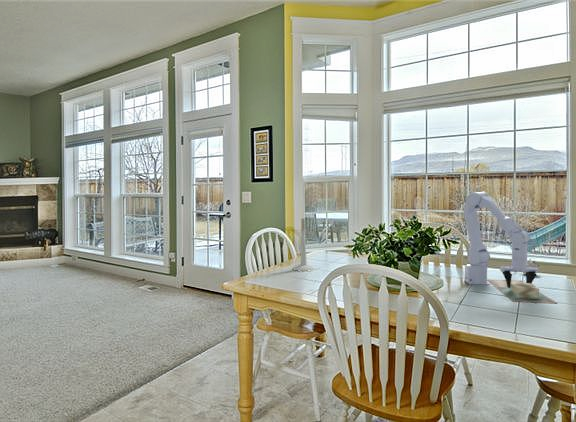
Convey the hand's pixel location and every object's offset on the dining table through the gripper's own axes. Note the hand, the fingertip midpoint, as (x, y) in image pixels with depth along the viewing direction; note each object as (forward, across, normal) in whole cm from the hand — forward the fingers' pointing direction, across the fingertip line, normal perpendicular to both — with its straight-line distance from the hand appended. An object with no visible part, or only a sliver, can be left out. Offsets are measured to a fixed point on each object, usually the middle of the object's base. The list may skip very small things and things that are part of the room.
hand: (518, 287), depth 161 cm
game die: (+2, +17, +32) cm, 36 cm away
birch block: (+1, 0, -6) cm, 6 cm away
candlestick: (+2, -102, +29) cm, 106 cm away
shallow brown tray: (+1, 0, +1) cm, 2 cm away
